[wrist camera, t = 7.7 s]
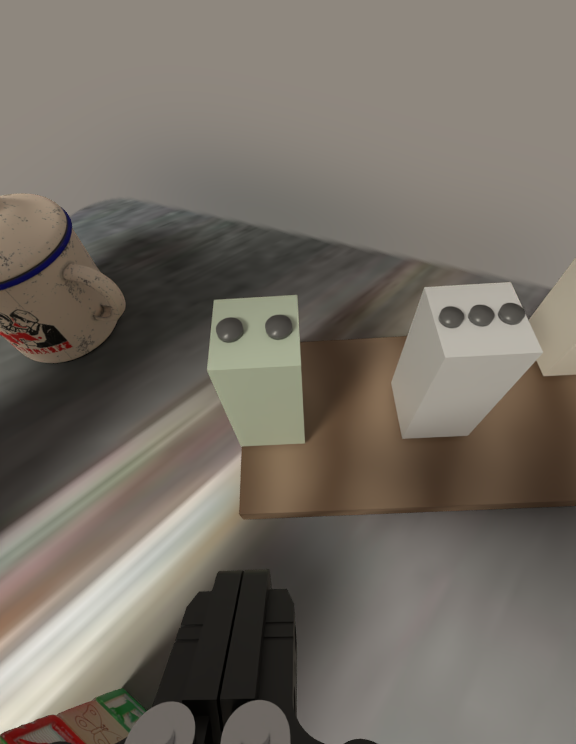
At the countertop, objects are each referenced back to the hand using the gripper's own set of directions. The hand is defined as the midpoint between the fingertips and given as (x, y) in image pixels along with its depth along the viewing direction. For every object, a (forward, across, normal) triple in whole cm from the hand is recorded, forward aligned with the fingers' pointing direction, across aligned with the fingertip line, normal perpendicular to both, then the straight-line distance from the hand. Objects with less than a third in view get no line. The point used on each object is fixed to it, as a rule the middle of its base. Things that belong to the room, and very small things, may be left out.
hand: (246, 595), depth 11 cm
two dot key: (+14, 0, 0) cm, 14 cm away
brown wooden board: (+16, -10, +1) cm, 18 cm away
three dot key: (+14, -10, 0) cm, 17 cm away
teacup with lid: (+22, +16, -6) cm, 28 cm away
